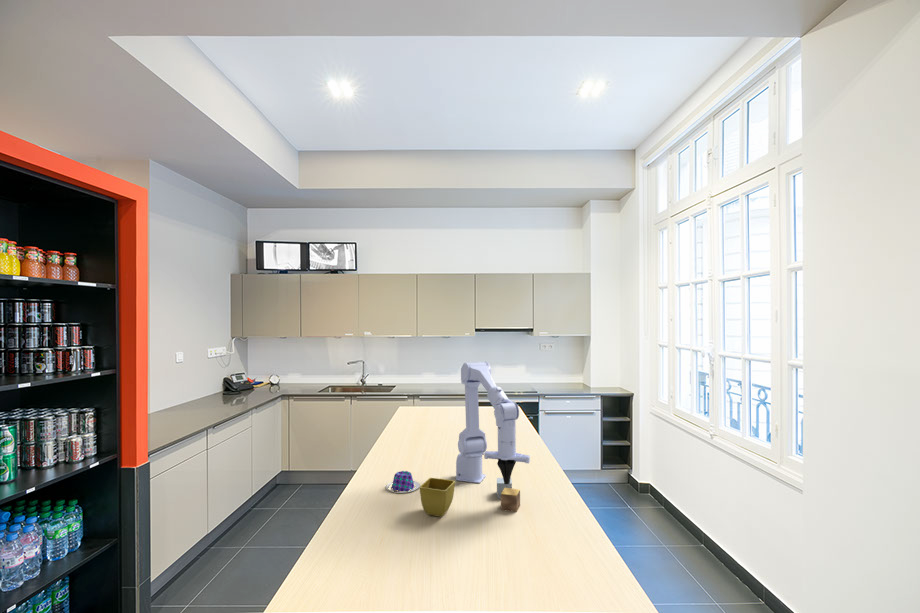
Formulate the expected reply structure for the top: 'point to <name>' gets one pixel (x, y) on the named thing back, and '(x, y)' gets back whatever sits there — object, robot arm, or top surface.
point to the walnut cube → (510, 499)
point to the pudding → (403, 482)
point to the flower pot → (437, 496)
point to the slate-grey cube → (502, 486)
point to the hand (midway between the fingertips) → (507, 483)
